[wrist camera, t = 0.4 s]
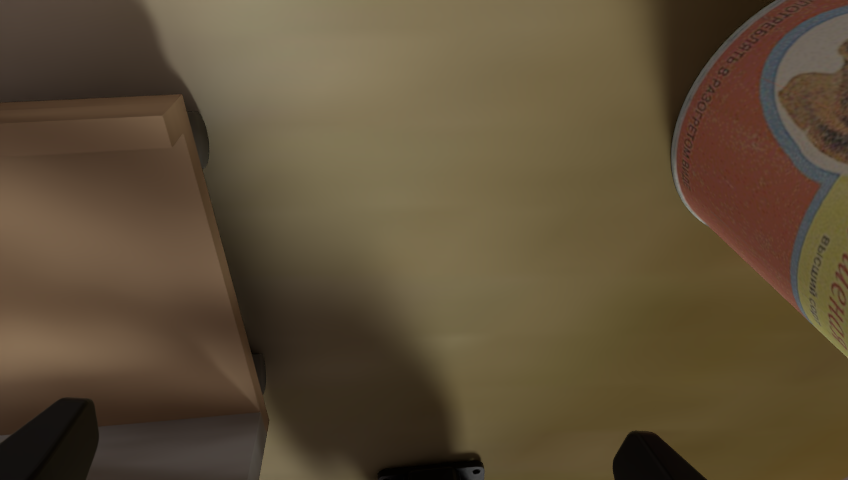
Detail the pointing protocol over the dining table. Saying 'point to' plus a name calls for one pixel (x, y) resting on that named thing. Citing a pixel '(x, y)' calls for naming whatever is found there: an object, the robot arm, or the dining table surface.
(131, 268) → the cart
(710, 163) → the canned food
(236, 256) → the dining table surface
